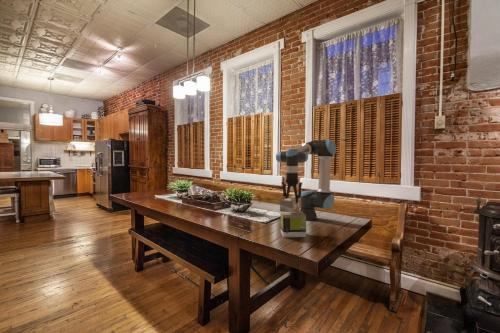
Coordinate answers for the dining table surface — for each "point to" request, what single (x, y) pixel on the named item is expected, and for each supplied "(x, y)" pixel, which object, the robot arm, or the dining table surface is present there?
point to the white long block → (289, 204)
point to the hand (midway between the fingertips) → (291, 207)
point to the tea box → (293, 224)
